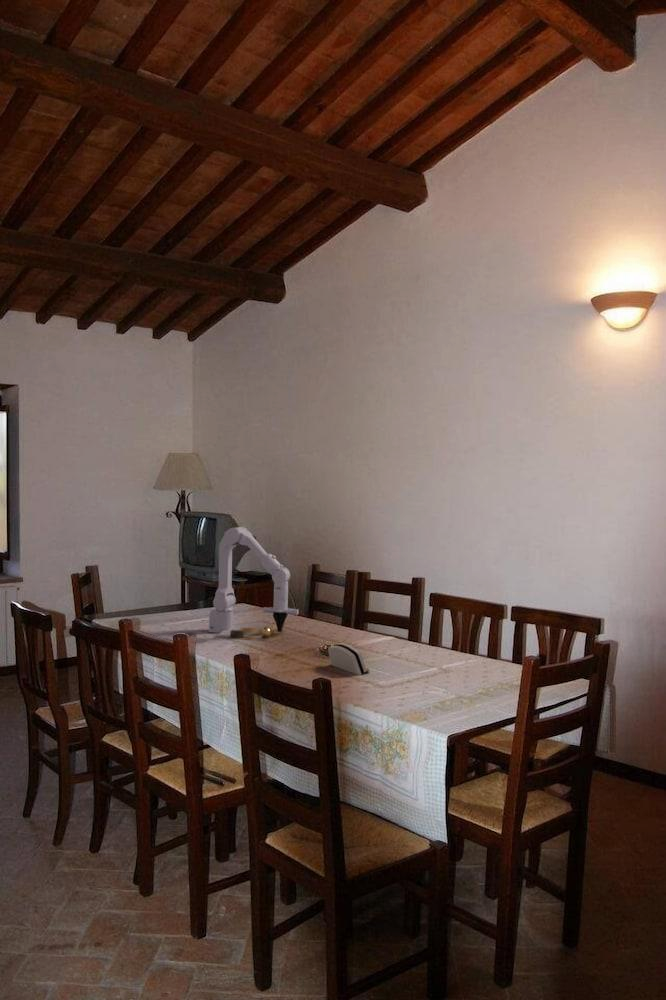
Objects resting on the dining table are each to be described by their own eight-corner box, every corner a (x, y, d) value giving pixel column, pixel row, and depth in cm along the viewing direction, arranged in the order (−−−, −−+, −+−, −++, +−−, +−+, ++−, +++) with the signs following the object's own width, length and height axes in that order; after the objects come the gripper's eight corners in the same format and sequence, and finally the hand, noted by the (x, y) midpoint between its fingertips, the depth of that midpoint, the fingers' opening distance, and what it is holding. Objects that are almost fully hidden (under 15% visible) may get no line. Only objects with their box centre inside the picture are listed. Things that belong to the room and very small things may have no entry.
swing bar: (268, 637, 329) (269, 628, 329) (261, 636, 330) (261, 628, 330) (277, 630, 343) (277, 622, 343) (269, 630, 344) (269, 621, 344)
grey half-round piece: (370, 673, 283) (363, 646, 281) (360, 679, 281) (352, 653, 278) (342, 663, 297) (335, 637, 295) (331, 668, 294) (324, 643, 292)
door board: (225, 641, 327) (226, 632, 327) (242, 630, 350) (242, 621, 350) (273, 644, 324) (273, 635, 324) (286, 633, 347) (286, 624, 347)
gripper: (260, 598, 336) (260, 632, 336) (296, 600, 333) (295, 634, 334) (265, 595, 343) (264, 628, 343) (299, 597, 340) (299, 630, 341)
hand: (279, 631), depth 339 cm, fingers closed
